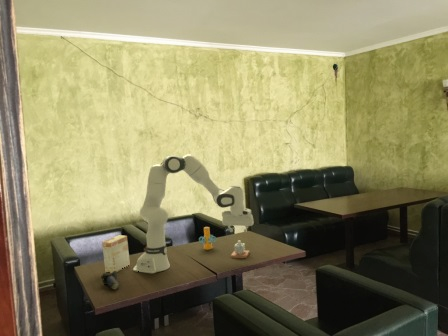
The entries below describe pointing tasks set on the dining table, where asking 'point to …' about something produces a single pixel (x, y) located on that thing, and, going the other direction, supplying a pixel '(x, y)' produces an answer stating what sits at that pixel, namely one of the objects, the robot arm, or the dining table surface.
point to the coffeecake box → (116, 253)
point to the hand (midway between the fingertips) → (238, 232)
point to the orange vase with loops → (207, 239)
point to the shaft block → (240, 255)
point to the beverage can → (111, 280)
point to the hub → (239, 248)
